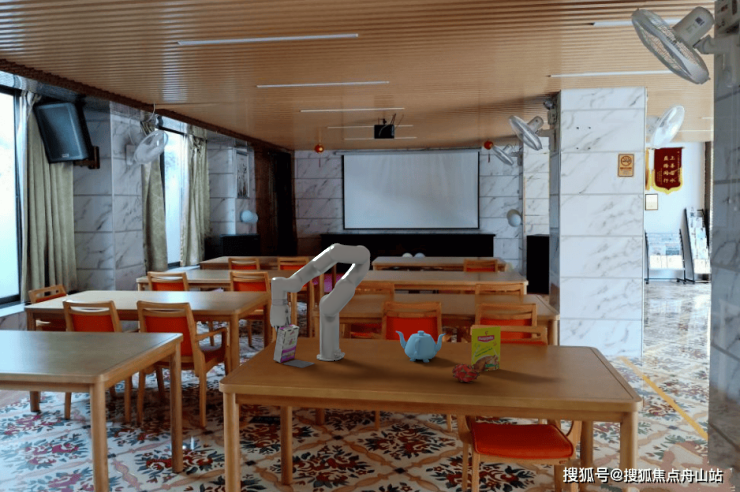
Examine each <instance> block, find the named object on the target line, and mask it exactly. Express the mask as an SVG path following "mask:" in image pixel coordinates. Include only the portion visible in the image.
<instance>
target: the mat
mask: <svg viewBox="0 0 740 492" xmlns="http://www.w3.org/2000/svg"><path fill="white" fill-rule="evenodd" d="M282 364H283V365H285V366H286V365H287V366H292V367H297V368H301V369H303V368H306V367H310V366H312V365H315V362H311V361H306V360H305V361H304V360H301V359H294V360H293V359H292V360H288V361H287V362H286V361H285V362H282Z"/></svg>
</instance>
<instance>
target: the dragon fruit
mask: <svg viewBox="0 0 740 492" xmlns="http://www.w3.org/2000/svg"><path fill="white" fill-rule="evenodd" d="M451 373H452V378H454V379H458V381H459V382H460V383H463V382H465V383H468V384H473V383H474V381H476V380H478V379H477V378H478V376H479V377H480V376H481V374H480V372H478V371H477V370H474V369H473V367H472V366H471V365H470V364H467V363H458V364H455V366H454V367H453V368H452V370H451Z"/></svg>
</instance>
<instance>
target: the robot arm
mask: <svg viewBox="0 0 740 492" xmlns="http://www.w3.org/2000/svg"><path fill="white" fill-rule="evenodd" d="M370 257H371V253H370V250H369V249H368V248H367V247H366V246H364V245H346V244H345V245H344V244H340V243H338V242H337V243H334V244H333V243H332V244H331V245H330V246H328V247H327V248H326V249H324V250H323V251H322V252H321V253H319V254H318V255H316V257H314V258H313V259H311V260H310V261H309V262H308V263H307V264H305V265H304V266H303V267H301V268H300V269H299V270H298V271H296V272H294V274H292V275H291V276H290V277H287V278H286V277H285V276H275V277H272V278H271V279H270V280H271V281H270V285H271V287H270V288H271V293H270V294H271V305H270V309H269V321H270V325H271V328H274V329H275V330H274V331H275V332H276V335H277V334H278V328H281V327H289V326H288V325H292V324H291V323H292V322H291V321H292V320H291V310H290V305H288V304H289V301H288V293H298V292H301V290H302V288H303V286H304V285H306V284H307V283H308V282H310V281H311V280H313V279H314V278H317V277H320V276H321V275H323V274H324V273H326V272H327V271H328V270H329V269H331V268H332V267H334V266H336V265H337V263H341V264H342V263H343V264H352V265H351V266H350V267H349V269H348V270H347V271H346V272H345V274H344V275H342V277H340V279H339V280H337V282H336V283H335V285H334V288H333V289H332V290H331V292H329V294H325V295H323V296H322V297H321V298H320V301H319V306H318V308H319V353H318V354H317V355H316V359H317V360H320V361H324V362H325V361H326V362H328V361H329V362H331V361H333V362H334V360H335V361H338V360H339V361H340V360H341V359H343V358H344V356H345V355H346V353H345V352H342V348H340V312H341V311H342V310H343V309H344V307H345V306H346V305H347V304H348V303H349V302H350V301H351V300H352V298H353V297H354V295H355V292H356V288H357V287H358V286H359V285H360V284H361V282H362V281H363V280H364V279H365V277H366V276H367V275H368V273H369V270H370V266H371V265H370V264H371V263H370V262H371V260H370V259H371V258H370Z"/></svg>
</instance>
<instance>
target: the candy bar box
mask: <svg viewBox="0 0 740 492" xmlns="http://www.w3.org/2000/svg"><path fill="white" fill-rule="evenodd" d="M288 326H289V327H281V328H278V334H277V333H276V343H275V348H274V352H273V361H275V362H278V363H280V364H281V363H282V364H283V363H286V361H287V362H288V361H291V360H293V359H295V354H296V348H297V344H298V340H299V339H298V338H299V332H300V326H297V325H296V324H290V325H288Z"/></svg>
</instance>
